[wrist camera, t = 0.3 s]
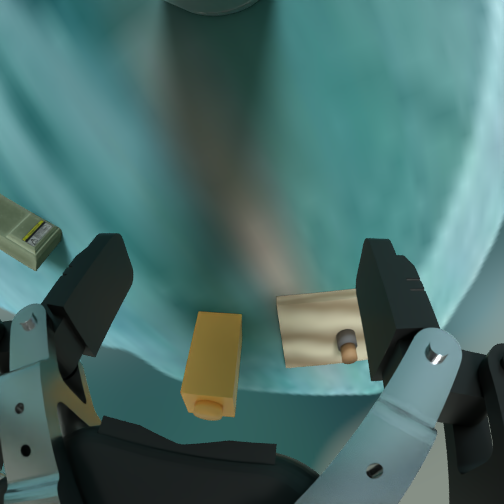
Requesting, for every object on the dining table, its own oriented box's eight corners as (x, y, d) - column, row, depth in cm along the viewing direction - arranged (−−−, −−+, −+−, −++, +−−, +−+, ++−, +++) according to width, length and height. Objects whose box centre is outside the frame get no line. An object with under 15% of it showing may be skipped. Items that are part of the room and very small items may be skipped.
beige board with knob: (276, 296, 37) (276, 332, 32) (411, 281, 34) (425, 314, 30) (285, 359, 45) (286, 390, 40) (393, 347, 42) (401, 376, 38)
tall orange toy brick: (203, 337, 42) (187, 420, 32) (198, 311, 39) (178, 402, 28) (242, 340, 42) (233, 425, 32) (241, 314, 39) (231, 407, 28)
